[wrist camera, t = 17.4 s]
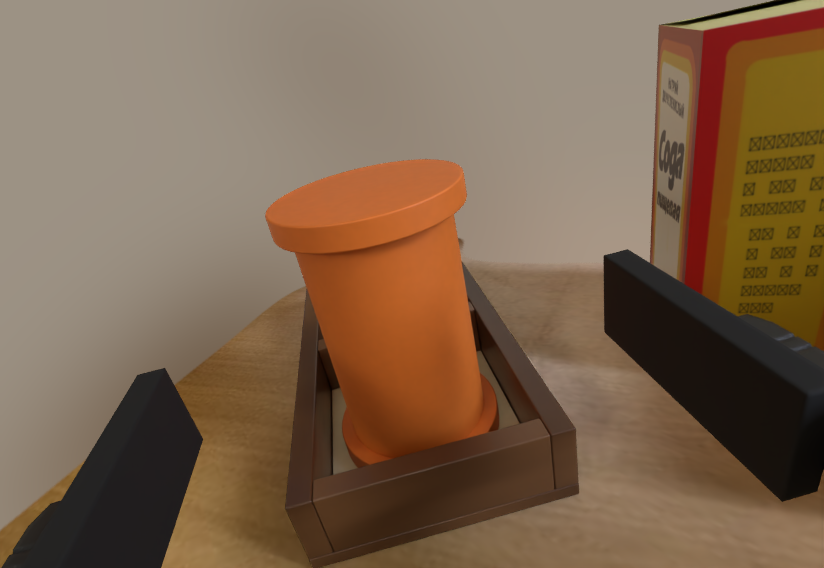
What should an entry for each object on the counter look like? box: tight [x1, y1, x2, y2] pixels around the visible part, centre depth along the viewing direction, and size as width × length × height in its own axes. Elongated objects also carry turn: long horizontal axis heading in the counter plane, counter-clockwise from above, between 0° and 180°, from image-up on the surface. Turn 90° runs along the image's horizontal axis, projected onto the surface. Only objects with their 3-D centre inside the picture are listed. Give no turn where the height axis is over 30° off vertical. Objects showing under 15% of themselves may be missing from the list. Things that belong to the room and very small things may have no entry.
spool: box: [265, 159, 499, 468], centre depth 20 cm, size 8×8×12 cm
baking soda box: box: [650, 0, 824, 351], centre depth 23 cm, size 10×6×16 cm
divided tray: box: [285, 262, 579, 568], centre depth 27 cm, size 11×21×4 cm, turn 10°
